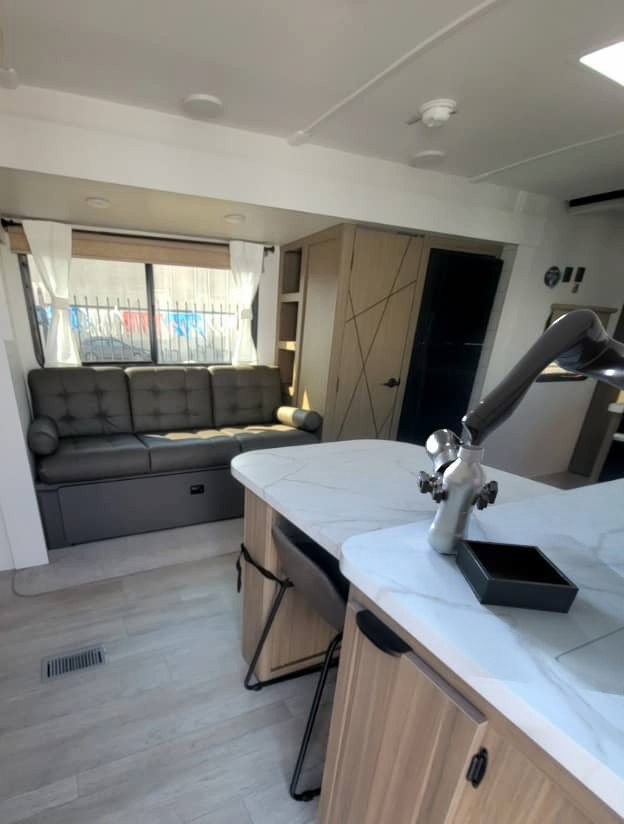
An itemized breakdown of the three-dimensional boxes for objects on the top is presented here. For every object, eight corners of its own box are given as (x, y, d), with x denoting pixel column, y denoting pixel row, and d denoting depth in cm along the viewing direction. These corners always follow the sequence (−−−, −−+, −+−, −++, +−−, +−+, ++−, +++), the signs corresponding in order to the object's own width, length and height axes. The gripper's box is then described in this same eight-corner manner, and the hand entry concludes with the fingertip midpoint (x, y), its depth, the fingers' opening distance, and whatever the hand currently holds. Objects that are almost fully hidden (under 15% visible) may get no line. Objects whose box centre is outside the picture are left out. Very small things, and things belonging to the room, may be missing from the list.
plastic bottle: (429, 537, 81) (453, 440, 72) (466, 548, 77) (497, 447, 69) (421, 551, 76) (446, 448, 67) (460, 562, 73) (492, 456, 64)
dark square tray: (528, 567, 72) (536, 545, 70) (567, 613, 61) (579, 589, 59) (454, 560, 73) (461, 539, 71) (480, 603, 62) (488, 579, 60)
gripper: (486, 493, 83) (500, 528, 69) (412, 482, 88) (411, 513, 74) (497, 458, 80) (514, 488, 66) (419, 449, 85) (420, 475, 71)
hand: (460, 501), depth 70 cm, fingers closed on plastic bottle, 6 cm apart
